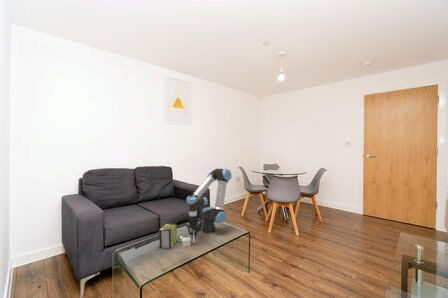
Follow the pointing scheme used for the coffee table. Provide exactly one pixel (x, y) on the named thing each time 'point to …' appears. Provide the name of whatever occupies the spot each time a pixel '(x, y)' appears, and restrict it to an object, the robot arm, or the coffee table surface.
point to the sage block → (186, 241)
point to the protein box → (168, 235)
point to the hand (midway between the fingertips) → (193, 242)
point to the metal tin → (180, 238)
